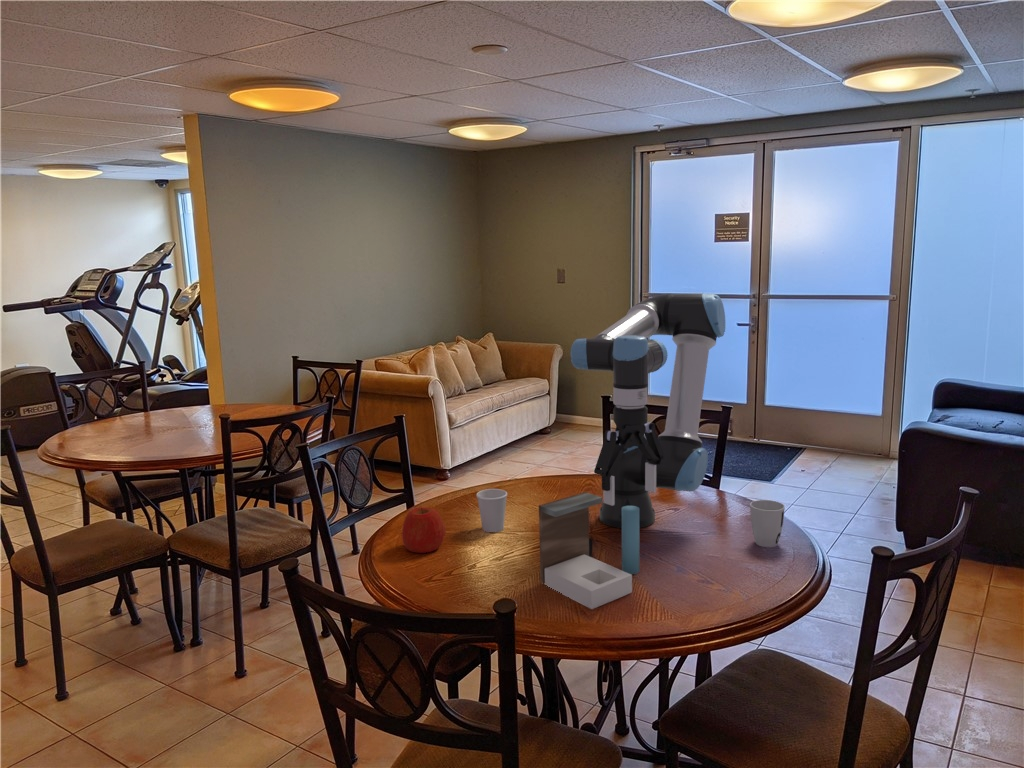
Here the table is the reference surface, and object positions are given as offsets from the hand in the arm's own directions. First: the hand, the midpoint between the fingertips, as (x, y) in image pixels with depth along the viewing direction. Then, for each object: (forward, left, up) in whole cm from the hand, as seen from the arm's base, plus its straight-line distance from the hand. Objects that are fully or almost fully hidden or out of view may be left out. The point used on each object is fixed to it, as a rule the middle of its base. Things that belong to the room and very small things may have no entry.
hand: (630, 497), depth 167 cm
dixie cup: (-43, -8, -18) cm, 47 cm away
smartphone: (-17, -1, -18) cm, 25 cm away
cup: (+11, +37, -18) cm, 43 cm away
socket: (0, -14, -18) cm, 22 cm away
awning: (-6, -13, -18) cm, 23 cm away
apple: (-44, -29, -18) cm, 56 cm away
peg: (0, 0, -18) cm, 18 cm away
